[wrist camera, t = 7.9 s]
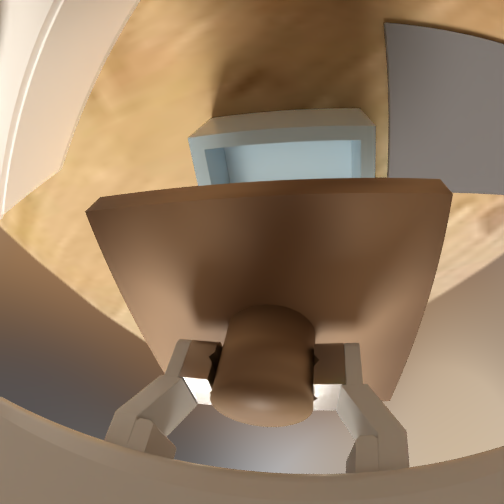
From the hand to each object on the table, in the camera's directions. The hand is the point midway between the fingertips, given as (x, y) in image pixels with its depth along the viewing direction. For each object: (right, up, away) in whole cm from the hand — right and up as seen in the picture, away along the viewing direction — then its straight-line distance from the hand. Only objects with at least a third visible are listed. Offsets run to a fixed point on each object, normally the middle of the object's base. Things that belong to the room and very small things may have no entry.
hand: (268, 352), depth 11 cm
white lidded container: (-20, +21, +7) cm, 30 cm away
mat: (+14, +13, +6) cm, 20 cm away
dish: (+2, +9, +12) cm, 15 cm away
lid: (0, +1, +2) cm, 2 cm away
